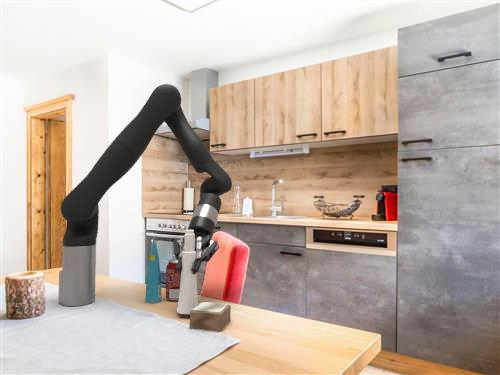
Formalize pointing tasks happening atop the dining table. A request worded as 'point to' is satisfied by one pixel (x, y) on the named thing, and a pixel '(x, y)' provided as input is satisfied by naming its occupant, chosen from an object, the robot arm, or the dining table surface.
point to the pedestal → (210, 316)
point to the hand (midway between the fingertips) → (186, 271)
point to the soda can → (172, 281)
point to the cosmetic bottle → (188, 276)
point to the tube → (153, 277)
